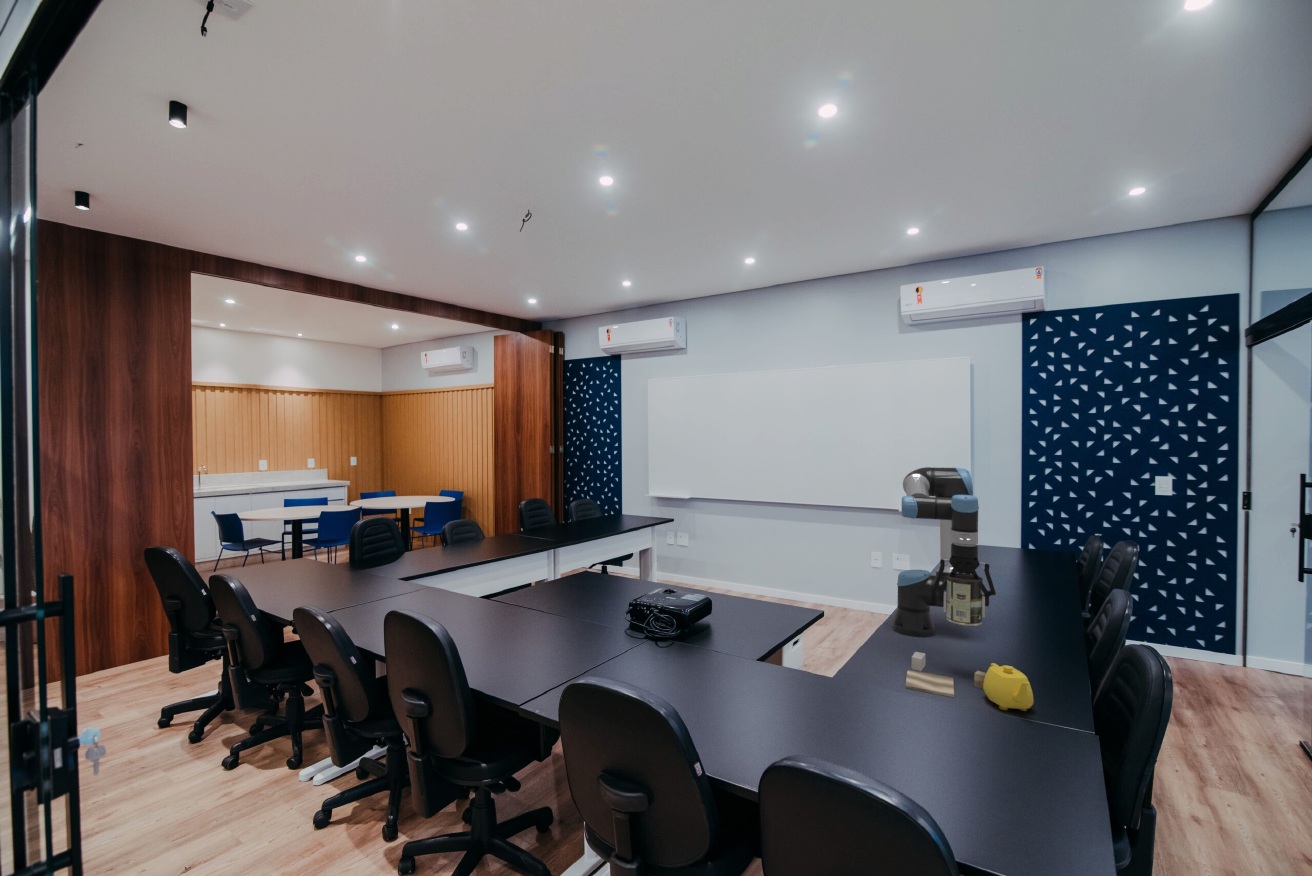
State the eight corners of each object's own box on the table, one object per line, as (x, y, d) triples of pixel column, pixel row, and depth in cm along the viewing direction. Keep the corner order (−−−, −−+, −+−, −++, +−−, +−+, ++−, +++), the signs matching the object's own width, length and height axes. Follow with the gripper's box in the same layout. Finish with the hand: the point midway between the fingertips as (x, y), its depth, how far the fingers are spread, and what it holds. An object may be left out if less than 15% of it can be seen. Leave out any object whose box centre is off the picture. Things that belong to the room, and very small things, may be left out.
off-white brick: (915, 663, 189) (915, 651, 189) (925, 665, 188) (925, 653, 188) (911, 669, 185) (911, 656, 185) (921, 671, 183) (921, 659, 183)
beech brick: (974, 686, 172) (974, 673, 172) (977, 683, 174) (977, 670, 174) (996, 692, 168) (996, 679, 168) (999, 689, 170) (999, 676, 170)
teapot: (1049, 722, 150) (1050, 681, 150) (1007, 720, 151) (1007, 680, 151) (1010, 691, 168) (1010, 655, 168) (972, 690, 169) (972, 654, 169)
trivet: (907, 672, 182) (907, 669, 182) (953, 680, 176) (953, 677, 176) (905, 688, 170) (905, 685, 170) (954, 697, 164) (954, 694, 164)
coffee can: (975, 616, 184) (975, 573, 184) (987, 627, 174) (987, 581, 174) (941, 614, 186) (941, 571, 186) (951, 625, 176) (951, 580, 176)
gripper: (924, 542, 182) (924, 611, 182) (1007, 549, 171) (1006, 622, 172) (925, 538, 188) (924, 605, 189) (1004, 545, 178) (1003, 615, 179)
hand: (963, 613), depth 180 cm, fingers closed on coffee can, 10 cm apart
